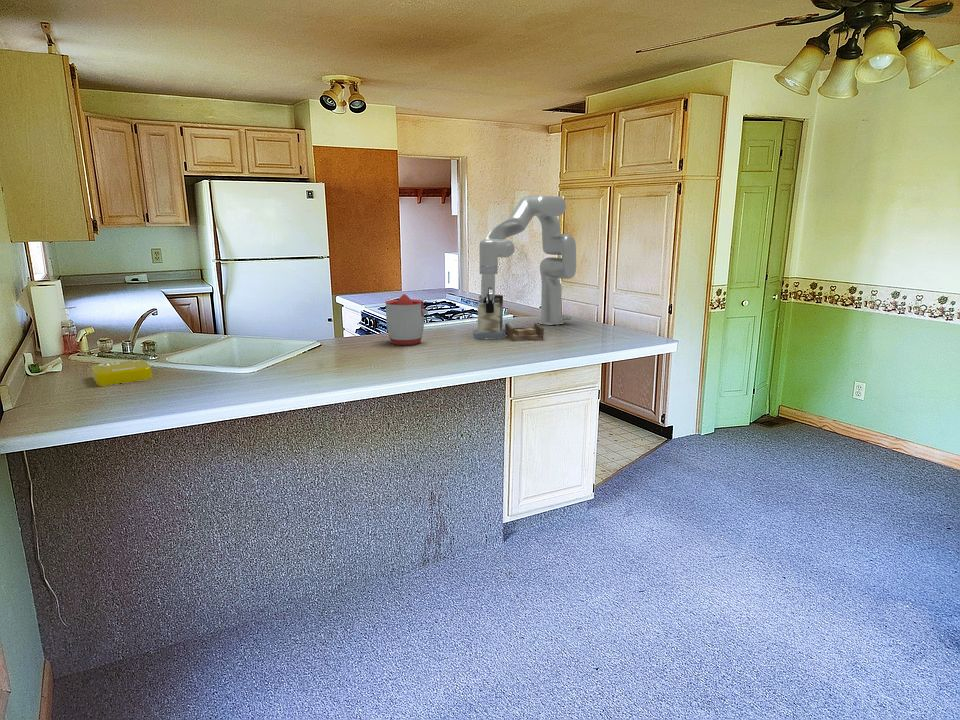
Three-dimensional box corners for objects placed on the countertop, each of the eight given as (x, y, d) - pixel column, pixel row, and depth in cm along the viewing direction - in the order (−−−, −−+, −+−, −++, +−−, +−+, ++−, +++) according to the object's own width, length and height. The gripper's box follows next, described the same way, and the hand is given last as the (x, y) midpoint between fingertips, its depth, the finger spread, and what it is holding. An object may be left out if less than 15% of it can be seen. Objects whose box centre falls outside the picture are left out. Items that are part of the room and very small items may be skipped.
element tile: (98, 388, 179) (95, 373, 178) (92, 378, 190) (90, 363, 189) (153, 380, 188) (151, 365, 187) (145, 371, 199) (143, 357, 198)
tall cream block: (498, 330, 256) (498, 302, 254) (499, 332, 252) (500, 304, 249) (477, 330, 255) (477, 303, 253) (478, 332, 251) (478, 304, 248)
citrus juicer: (427, 346, 235) (426, 296, 231) (383, 346, 236) (381, 296, 231) (431, 339, 250) (430, 291, 246) (390, 339, 251) (388, 291, 246)
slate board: (501, 335, 259) (501, 329, 258) (503, 338, 251) (503, 333, 250) (473, 335, 257) (473, 330, 257) (475, 339, 250) (475, 333, 249)
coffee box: (487, 332, 265) (487, 296, 261) (478, 330, 270) (478, 295, 266) (503, 330, 270) (503, 295, 267) (493, 328, 275) (494, 293, 272)
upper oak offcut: (531, 333, 254) (531, 328, 254) (535, 334, 251) (535, 329, 250) (514, 334, 251) (514, 329, 251) (519, 336, 248) (519, 331, 247)
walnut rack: (536, 334, 262) (536, 322, 260) (543, 340, 248) (543, 328, 247) (505, 334, 260) (505, 323, 259) (510, 341, 246) (510, 329, 245)
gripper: (477, 268, 256) (477, 308, 260) (481, 272, 239) (481, 314, 243) (494, 268, 257) (494, 308, 260) (500, 271, 240) (500, 314, 244)
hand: (488, 311), depth 252 cm, fingers open, 9 cm apart
